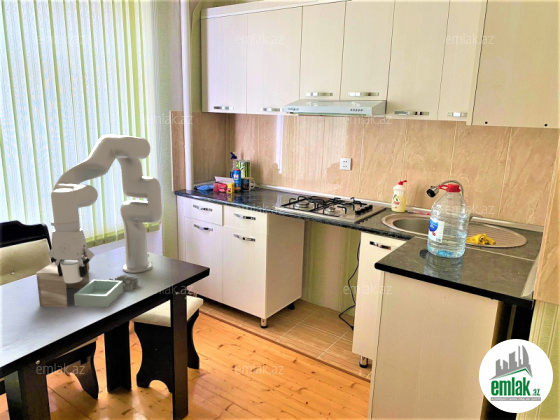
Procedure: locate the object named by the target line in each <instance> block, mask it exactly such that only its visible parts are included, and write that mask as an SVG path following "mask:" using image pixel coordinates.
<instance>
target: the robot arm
mask: <svg viewBox="0 0 560 420" xmlns="http://www.w3.org/2000/svg"><path fill="white" fill-rule="evenodd" d="M150 153H151V145H150V142H149V141H148V139H146V138H144V137H137V136H130V135H117V134H106V135H102V136H101V137H100V138H98V140H97V142H96V143H95V145H94V146H93V148H92V150H91V151H90V153H89V154H88V155H87V157H86V159H84V160H82V161H81V162H79V163H77V164H75V165H73V166H72V167H70V168H69V169H66V171H64V172H63V173H62V174H61V176H60V177H59V179H58V180H57V181H56V183H55V185H54V186H53V189H52V191H51V193H50V200H51V207H52V208H51V209H52V215H53V216H52V217H53V221H51V222H50V225H51V227H52V226H53V228H54V229H53V230H52V234H51V249H50V250H49V251H48V252H47V253H46V254H47V256H48V257H49V258H50V260H51V261H52V263H53V262H55V265H57V268H58V273H59V276H62V275H63V273H62V269H61V265H60V262H61V261H62V260H78V262H79V264H80V265H81V266H80V267H79V271H80V277H84V276H85V275H86V274H87V263H88V262H89V263H90V261H91V260H92V259H93V258H94V257H95V253H94V252H92V251H91V250H90V249H87V248H88V245H87V241H86V237H85V234H84V229H83V228H81V223H80V213H79V209H80V208H87V207H90V206H92V205H93V204H95V203H96V202H97V200H98V196H99V194H98V190H97V189H96V188H95V187H94V186H92V185H90V184H89V185H88V184H82V183H84V182H86V181H90V180H93V179H97V178H99V177H102V176H105V175H106V174H107V173H108V172H109V171H110V169H111V167H112V165H113V163H114V162H115V160H117V162H118V163H119V165H120V166H119V167H120V170H121V171H120V172H121V183H122V192H123V194H124V196H125V197H127V198H133V199H130V200H126V201H123V203H122V204H121V206H120V216H121V220H122V223H123V225H122V226H123V233H124V236H123V237H124V253H125V264H124V265H123V266H122V270H123V272H125V273H130V274H131V273H133V274H137V273H144V272H147V271H149V270H151V269H152V267H153V265H152V263H151V262H149V257H150V255H149V253H148V251H149V249H148V237H147V236H148V233H147V231H148V230H147V228H146V226H145V223H147V224H155V223H158V222H159V221H160V220H161V218H162V212H163V209H162V190H161V184H160V181H159V180H158V179H157V178H156V177H154V176H153V177H152V176H144V174H143V167H142V166H143V164H142V162H141V161H140V159H141V160H144V159H146V158H148V157H149V155H150ZM134 199H135V200H134ZM136 199H137V200H136ZM138 199H146V200H138ZM86 245H87V246H86ZM86 255H88V257H87V258H85V256H86Z"/></svg>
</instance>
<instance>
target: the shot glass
mask: <svg viewBox="0 0 560 420" xmlns="http://www.w3.org/2000/svg"><path fill="white" fill-rule="evenodd" d="M60 265H61V269H62V273H63V278H64V282H65V283H76V282H79V281H81V280H82V277H80V271H79V267H80V266H81V265H80V264H79V262H78V260H62V261H61V262H60Z"/></svg>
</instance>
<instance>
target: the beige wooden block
mask: <svg viewBox="0 0 560 420" xmlns="http://www.w3.org/2000/svg"><path fill="white" fill-rule="evenodd" d="M89 268H90V265H89V266H88V263H87V274H86V275H85V276H84V277H82V280H81V281H79V282H76V283H65V282H64V278H63V275H62V276H59V273H58V268H57V265H55V262H53V261H52V263H49V264H48V265H46V266H45V267H43V268H42V269H40V270H38V271H36V272H35V273H36V274H35V275H36V283H37V291H38V292H37V293H38V300H39V306H40V307H52V308H53V307H54V308H68V307H69V305H68V294H67V289H82V288H83V287H84V286H86V285H87V284H88V283H89V282H91V281H90V269H89ZM66 288H67V289H66Z"/></svg>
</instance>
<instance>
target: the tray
mask: <svg viewBox="0 0 560 420" xmlns="http://www.w3.org/2000/svg"><path fill="white" fill-rule="evenodd" d="M114 280H115V279H113V280H109V279H91V281H90V282H89V283H88V284H87V285H86V286H84V287H83V288H79V290H78V291H76V293H73V297H74V299H73V300H74V306H75V307H88V308H89V307H92V308H93V307H94V308H108V307H109V306H110V305H111V304H112V303H113V302H114V301H115V300H116V299H117V298H119V297H120V296H121V294H123V293H124V289H123V284H124V282H123V281H114Z"/></svg>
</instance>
